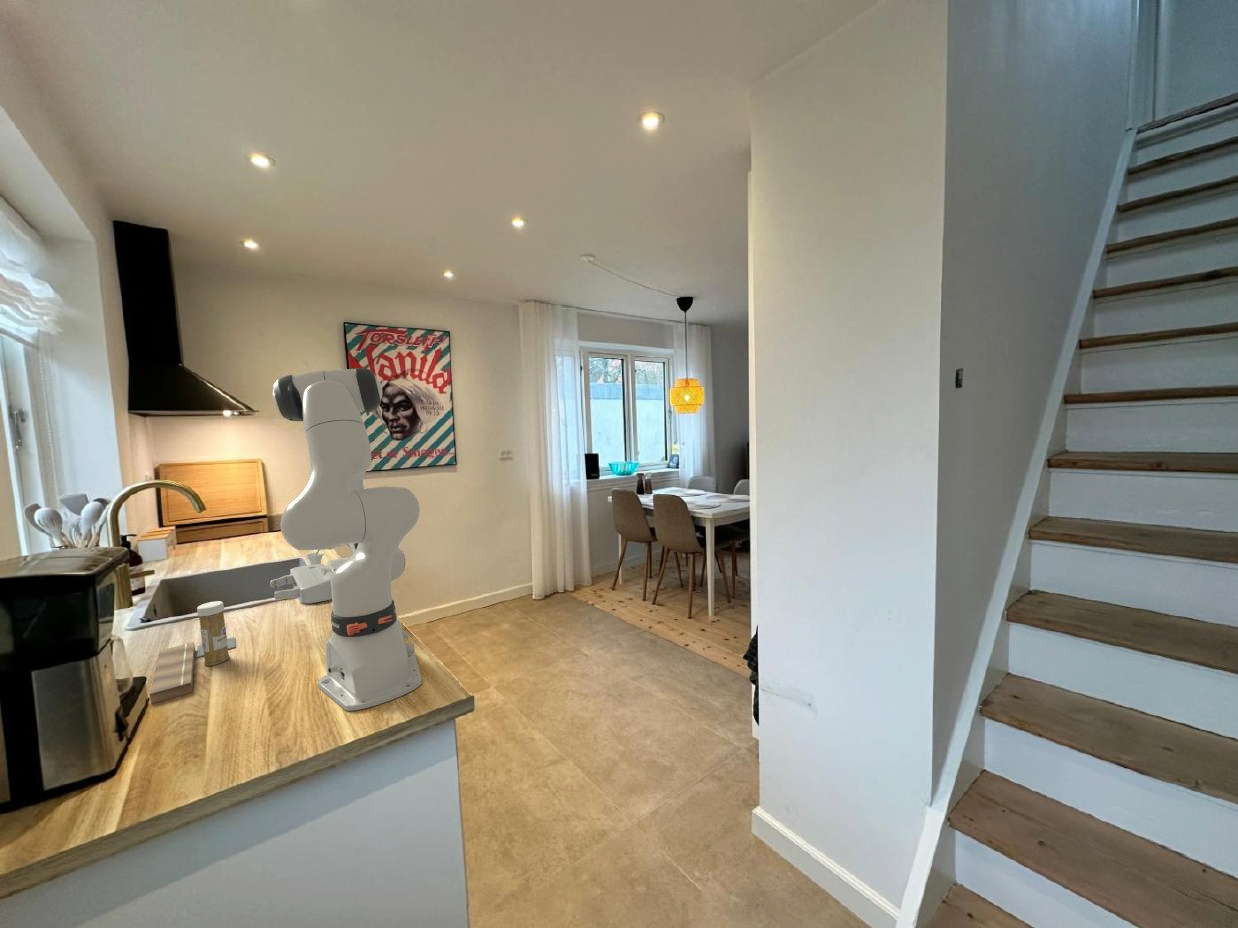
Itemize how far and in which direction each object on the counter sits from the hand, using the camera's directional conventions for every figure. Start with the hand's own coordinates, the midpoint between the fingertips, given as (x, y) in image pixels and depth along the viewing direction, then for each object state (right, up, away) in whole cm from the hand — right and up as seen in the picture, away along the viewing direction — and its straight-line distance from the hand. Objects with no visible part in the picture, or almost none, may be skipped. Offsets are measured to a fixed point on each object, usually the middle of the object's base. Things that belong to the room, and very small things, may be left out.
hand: (272, 589), depth 117 cm
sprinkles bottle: (-8, -15, -6) cm, 18 cm away
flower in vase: (-7, -11, +32) cm, 34 cm away
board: (-13, -15, -12) cm, 23 cm away
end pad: (-14, -14, 0) cm, 20 cm away
